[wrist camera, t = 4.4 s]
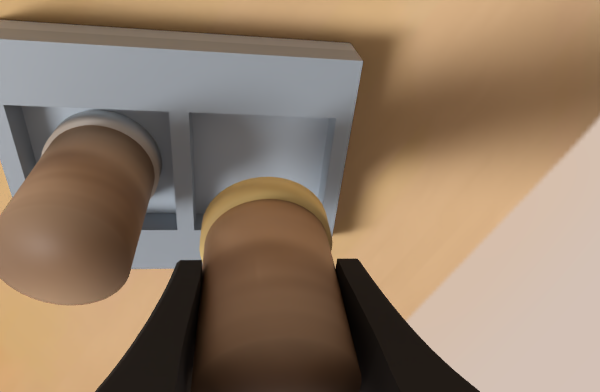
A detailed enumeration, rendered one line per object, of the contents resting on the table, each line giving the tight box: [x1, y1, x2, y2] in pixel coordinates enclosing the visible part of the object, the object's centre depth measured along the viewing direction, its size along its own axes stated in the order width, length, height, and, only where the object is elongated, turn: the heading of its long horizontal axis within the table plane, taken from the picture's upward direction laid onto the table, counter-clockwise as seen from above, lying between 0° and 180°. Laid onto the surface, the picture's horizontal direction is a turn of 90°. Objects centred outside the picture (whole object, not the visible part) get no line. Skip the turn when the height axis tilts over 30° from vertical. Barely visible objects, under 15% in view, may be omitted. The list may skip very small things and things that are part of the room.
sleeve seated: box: [0, 110, 162, 305], centre depth 16 cm, size 4×4×6 cm
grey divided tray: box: [0, 20, 363, 269], centre depth 19 cm, size 10×13×2 cm
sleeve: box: [191, 177, 361, 392], centre depth 13 cm, size 4×4×6 cm
